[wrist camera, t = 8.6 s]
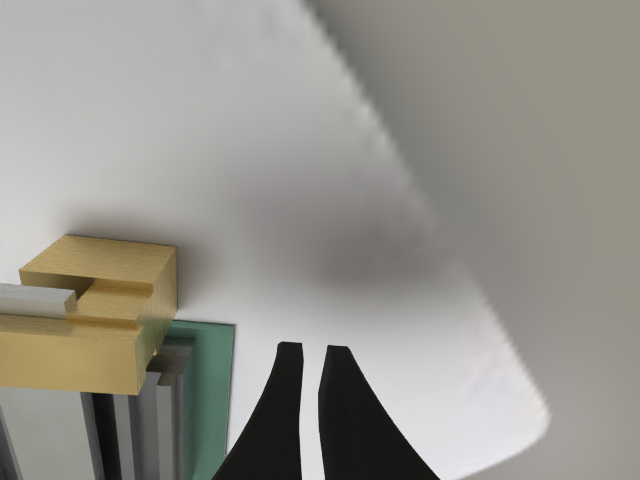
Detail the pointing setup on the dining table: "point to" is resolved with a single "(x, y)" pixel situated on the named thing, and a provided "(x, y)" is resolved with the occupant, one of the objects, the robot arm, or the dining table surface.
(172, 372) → the block
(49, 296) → the grey long flat bar
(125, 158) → the dining table surface
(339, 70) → the dining table surface
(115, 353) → the clip
